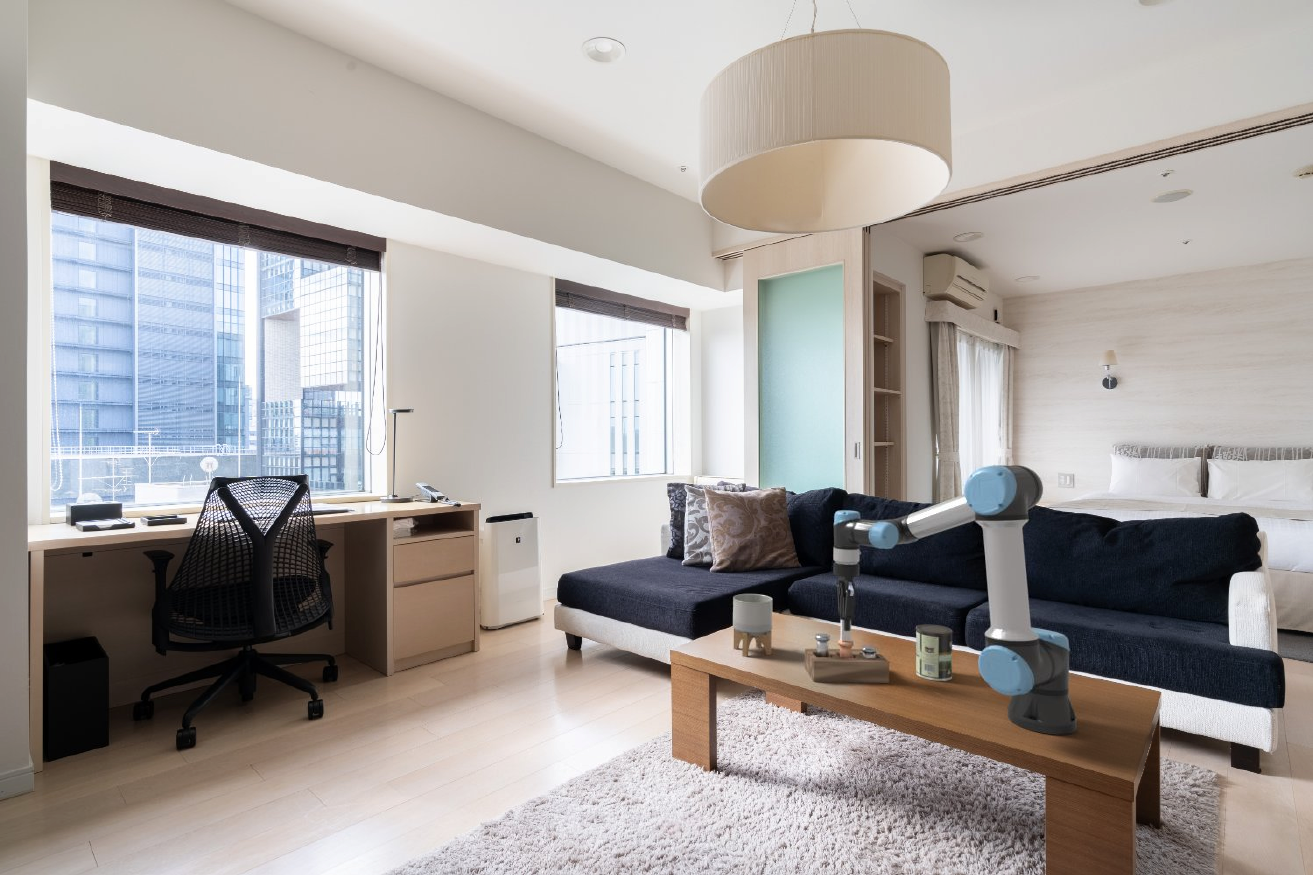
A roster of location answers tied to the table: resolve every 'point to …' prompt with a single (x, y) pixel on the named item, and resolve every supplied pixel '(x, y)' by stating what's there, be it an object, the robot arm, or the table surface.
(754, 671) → the table surface
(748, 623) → the planter
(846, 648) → the terracotta plug
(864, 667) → the wooden slotted block
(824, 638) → the grey plug
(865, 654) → the grey plug
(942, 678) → the coffee can
